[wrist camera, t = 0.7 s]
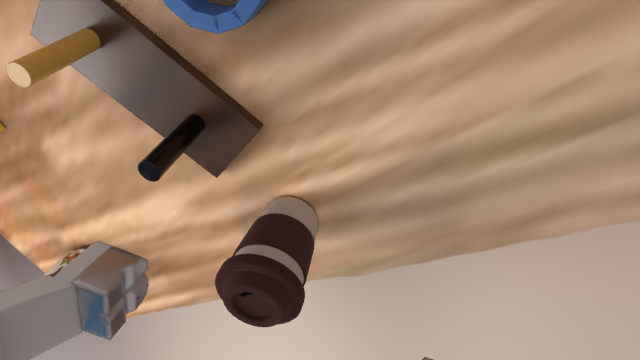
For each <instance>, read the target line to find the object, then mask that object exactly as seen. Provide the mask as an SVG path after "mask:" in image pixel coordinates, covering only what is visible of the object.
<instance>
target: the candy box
mask: <svg viewBox="0 0 640 360" xmlns="http://www.w3.org/2000/svg"><path fill="white" fill-rule="evenodd" d="M5 129H6V128H5V127H4V126H3V125H2V123H1V122H0V132H2V131H4V130H5Z"/></svg>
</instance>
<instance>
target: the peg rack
mask: <svg viewBox="0 0 640 360" xmlns="http://www.w3.org/2000/svg"><path fill="white" fill-rule="evenodd" d="M30 34H31V35H32V36H33V37H34V38H36V39H37V40H38V41H40V42H41V43H42V44H43V45H45V47H43V48H41V49H38V50H36V51H34V52H32V53H30V54H28V55H25V56H23V57H21V58H19V59H17V60H15V61H12V62H10V63H9V64H8V65H7V73H8V75H9V77H10V78H11V79H12V81H13V82H15V83H16V84H17V85H19V86H21V87H29V86H31V85H33V84H35V83H37V82H38V81H40V80H42V79H44V78H46V77H48V76H50V75H51V74H53V73H55V72H57V71H59V70H61V69H63V68H64V67H66V66H68V65H71V66H72V67H73V68H75V69H76V70H77V71H79V72H80V73H81V74H82V75H84V76H85V77H86V78H88V79H89V80H90V81H92V82H93V83H94V84H95V85H97V86H98V87H99V88H101V89H102V90H103V91H105V92H106V93H107V94H108V95H110V96H111V97H112V98H114V99H115V100H116V101H117V102H119V103H120V104H121V105H123V106H124V107H125V108H127V109H128V110H129V111H130V112H132V113H133V114H134V115H136V116H137V117H138V118H140V119H141V120H142V121H143V122H145V123H146V124H147V125H149V126H150V127H151V128H153V129H154V130H155V131H156V132H158V133H159V134H160V135H162V136H163V137H164V138H165V139H163V140H162V141H161V142H160V143H159V144H158V145H157V146H156V147H155V148H154V149H153V150H152V151H151V152H150V153H149V154H148V155H147V156H146V157H145V158H144V159H143V160H142V161H141V162H140V163H139V164H138V171H139V173H140V174H141V175H142V176H143V177H144V178H145V179H147V180H149V181H158V180H159V179H160V178H161V177H162V176H163V175H164V173H165V172H166V171H167V170H168V169H169V168H170V167H171V166H172V165H173V164H174V162H175V161H176V160H177V159H178V158H179V157H180V156H181V155H182V154H183V153H185V154H186V155H188V156H189V157H190V158H191V159H193V160H194V161H195V162H197V163H198V164H199V165H201V166H202V167H203V168H204V169H206V170H207V171H208V172H210V173H211V174H212V175H214V176H215V177H216V178H217V177H218V176H219V175H220V174H221V173H222V172H223V171H224V169H225V168H226V167H227V166H228V165H229V164H230V163H231V162H232V161H233V159H234V158H235V157H236V156H237V155H238V154H239V153H240V152H241V151H242V149H243V148H244V147H245V146H246V145H247V144H248V143H249V142H250V141H251V139H252V138H253V137H254V136H255V135H256V134H257V133H258V132H259V130H260V129H261V128H262V126H263V124H262V123H261V122H260V121H259V120H257V119H256V118H255V117H254V116H253V115H251V114H250V113H249V112H248V111H247V110H245V109H244V108H243V107H242V106H241V105H239V104H238V103H237V102H236V101H235V100H233V99H232V98H231V97H230V96H229V95H227V94H226V93H225V92H224V91H223V90H221V89H220V88H219V87H218V86H217V85H215V84H214V83H213V82H212V81H210V80H209V79H208V78H207V77H206V76H204V75H203V74H202V73H201V72H200V71H198V70H197V69H196V68H195V67H194V66H192V65H191V64H190V63H189V62H188V61H186V60H185V59H184V58H183V57H182V56H180V55H179V54H178V53H177V52H176V51H174V50H173V49H172V48H171V47H170V46H168V45H167V44H166V43H165V42H164V41H162V40H161V39H160V38H159V37H158V36H156V35H155V34H154V33H153V32H152V31H150V30H149V29H148V28H147V27H146V26H144V25H143V24H142V23H141V22H140V21H138V20H137V19H136V18H135V17H134V16H132V15H131V14H130V13H129V12H128V11H126V10H125V9H124V8H123V7H122V6H120V5H119V4H118V3H117V2H116V1H114V0H41V2H40V5H39V8H38V11H37V14H36V17H35V21H34V24H33V27H32V30H31V33H30Z"/></svg>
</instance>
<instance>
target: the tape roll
mask: <svg viewBox="0 0 640 360" xmlns="http://www.w3.org/2000/svg"><path fill="white" fill-rule="evenodd" d="M163 1H164V3H165V5H166V6H167V7H168V8H169V9H171V10H172V11H173V12H174V13H175V14H176V15H178V16H179V17H180V18H181V19H182V20H183V21H185V22H186V23H187V24H188V25H189V26H191V27H194V28H198V29H202V30H206V31H210V32H214V33H217V34H220V33H223V32H226V31H229V30H231V29H234V28H237V27H240V26H243V25H245V24H246V23H247V22H249V21H250V20H251V19H252V18H254V17H255V16H256V15H257V14H258V12H259V11H260V10H261V8H262V7H263V5H264V4H265V2H266V1H267V0H239V1H238V3H237V4H235V5H233V6H230V7H225V6H221V5H217V4H213V3H209V2H208V1H207V0H163Z"/></svg>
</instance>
